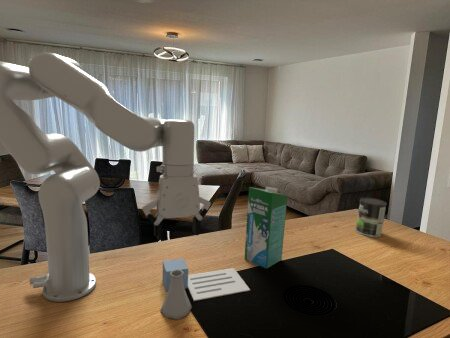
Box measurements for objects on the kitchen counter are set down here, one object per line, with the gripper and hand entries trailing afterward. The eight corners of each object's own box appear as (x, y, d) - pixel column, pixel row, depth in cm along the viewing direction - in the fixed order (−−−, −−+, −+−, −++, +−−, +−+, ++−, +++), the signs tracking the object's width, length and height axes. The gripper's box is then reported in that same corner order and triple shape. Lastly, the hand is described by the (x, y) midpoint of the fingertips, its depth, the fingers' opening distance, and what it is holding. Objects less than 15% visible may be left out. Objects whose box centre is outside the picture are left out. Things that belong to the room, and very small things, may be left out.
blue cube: (165, 292, 80) (166, 271, 79) (162, 280, 86) (162, 260, 85) (187, 288, 82) (188, 268, 81) (183, 277, 88) (183, 258, 87)
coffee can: (364, 237, 123) (368, 204, 120) (351, 227, 133) (355, 197, 130) (387, 237, 124) (392, 205, 122) (372, 227, 134) (377, 197, 132)
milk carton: (281, 259, 101) (288, 188, 96) (266, 269, 94) (272, 192, 89) (260, 250, 107) (265, 182, 102) (244, 258, 100) (248, 186, 95)
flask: (196, 307, 74) (198, 271, 72) (177, 324, 68) (178, 284, 66) (174, 297, 78) (175, 262, 76) (154, 312, 72) (154, 274, 70)
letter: (193, 301, 77) (193, 299, 77) (183, 276, 88) (183, 275, 88) (250, 290, 82) (250, 289, 82) (233, 268, 93) (233, 267, 93)
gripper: (144, 175, 66) (145, 246, 70) (216, 171, 73) (214, 237, 77) (139, 168, 73) (140, 234, 76) (206, 166, 80) (204, 226, 83)
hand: (177, 235), depth 77 cm, fingers open, 9 cm apart
